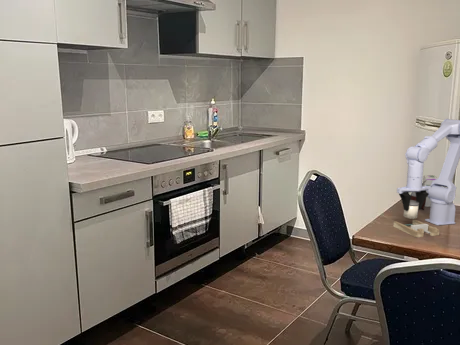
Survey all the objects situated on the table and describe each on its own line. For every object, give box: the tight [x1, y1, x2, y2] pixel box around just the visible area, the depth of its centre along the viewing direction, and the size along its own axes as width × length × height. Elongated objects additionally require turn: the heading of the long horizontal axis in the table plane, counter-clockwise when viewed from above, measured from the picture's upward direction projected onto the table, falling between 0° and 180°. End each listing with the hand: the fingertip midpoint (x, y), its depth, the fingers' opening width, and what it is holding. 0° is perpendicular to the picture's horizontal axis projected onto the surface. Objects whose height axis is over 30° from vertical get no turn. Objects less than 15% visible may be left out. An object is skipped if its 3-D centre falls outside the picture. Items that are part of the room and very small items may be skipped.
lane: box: [393, 219, 440, 238], centre depth 184 cm, size 10×15×3 cm
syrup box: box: [422, 174, 439, 208], centre depth 222 cm, size 6×6×14 cm
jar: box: [402, 200, 419, 220], centre depth 186 cm, size 5×5×6 cm
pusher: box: [410, 223, 430, 235], centre depth 179 cm, size 7×6×3 cm
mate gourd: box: [410, 180, 427, 211], centre depth 216 cm, size 8×8×15 cm
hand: (412, 209), depth 185 cm, fingers closed on jar, 5 cm apart
